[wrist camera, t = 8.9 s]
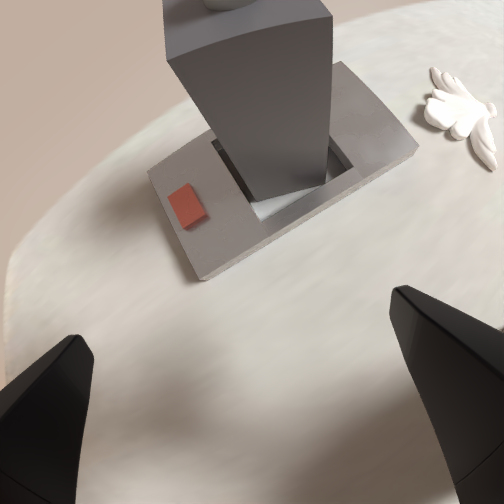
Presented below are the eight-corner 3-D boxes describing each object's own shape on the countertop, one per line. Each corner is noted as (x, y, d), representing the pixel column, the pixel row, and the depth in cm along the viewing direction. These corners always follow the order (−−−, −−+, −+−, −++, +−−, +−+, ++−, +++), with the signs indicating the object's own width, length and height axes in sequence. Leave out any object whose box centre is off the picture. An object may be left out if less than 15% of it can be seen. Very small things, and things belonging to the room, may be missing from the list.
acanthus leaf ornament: (489, 175, 17) (501, 166, 15) (415, 134, 18) (422, 121, 16) (495, 107, 17) (503, 96, 15) (429, 70, 18) (434, 57, 17)
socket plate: (339, 73, 19) (341, 55, 17) (412, 155, 17) (421, 141, 15) (156, 179, 21) (142, 168, 19) (207, 280, 19) (195, 278, 17)
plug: (325, 183, 18) (331, -28, 4) (256, 201, 19) (141, 23, 5) (304, 125, 19) (276, -72, 5) (241, 143, 20) (145, -35, 6)
